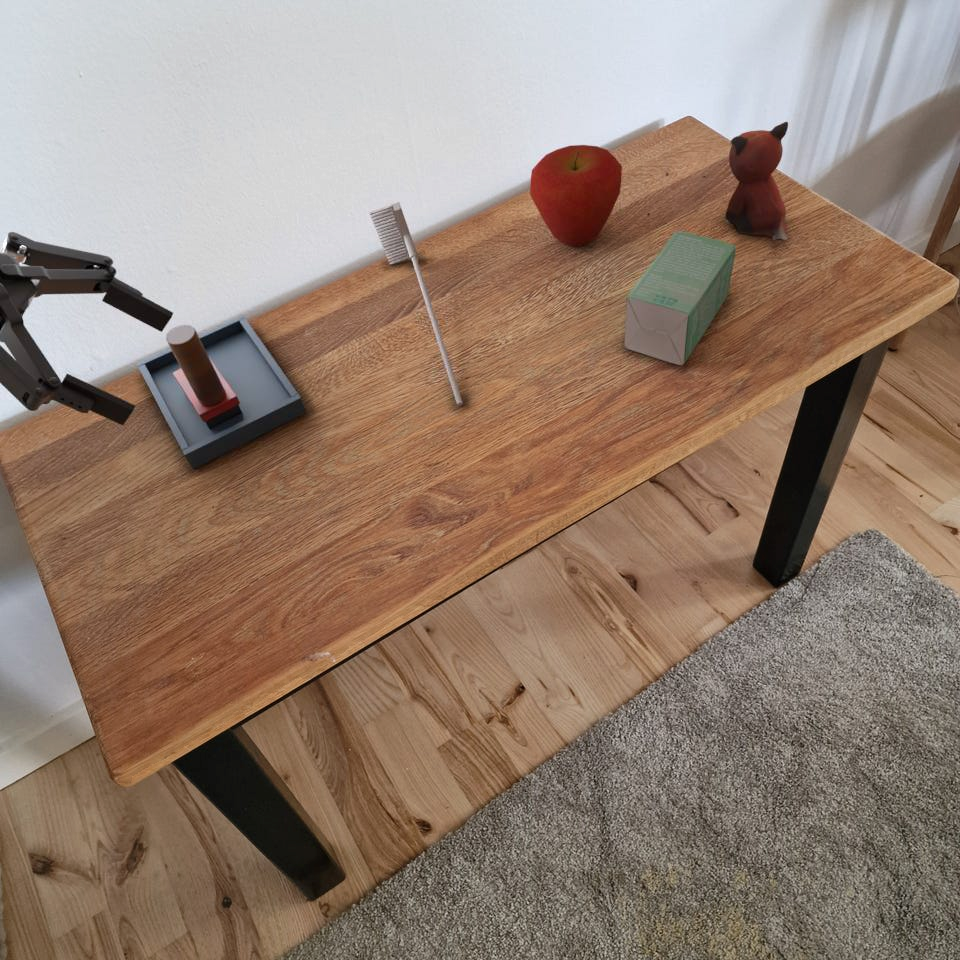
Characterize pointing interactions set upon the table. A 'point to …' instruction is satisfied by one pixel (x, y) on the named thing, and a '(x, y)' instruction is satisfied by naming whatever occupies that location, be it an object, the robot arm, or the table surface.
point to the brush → (407, 251)
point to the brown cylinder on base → (201, 378)
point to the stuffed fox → (757, 184)
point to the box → (678, 297)
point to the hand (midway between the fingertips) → (149, 366)
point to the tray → (249, 377)
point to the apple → (576, 191)
